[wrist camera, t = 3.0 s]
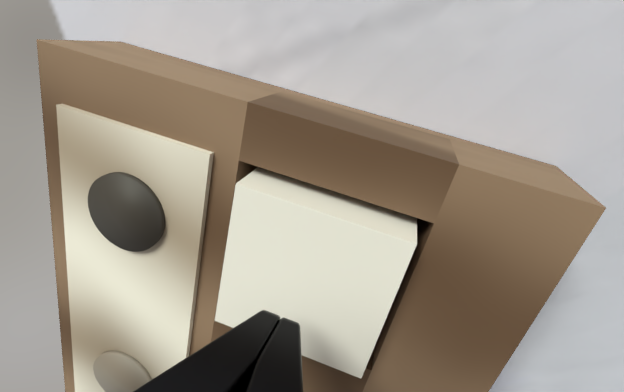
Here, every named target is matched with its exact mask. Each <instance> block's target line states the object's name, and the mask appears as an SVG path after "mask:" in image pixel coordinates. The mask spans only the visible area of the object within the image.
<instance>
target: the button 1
mask: <svg viewBox="0 0 624 392" xmlns="http://www.w3.org/2000/svg"><path fill="white" fill-rule="evenodd" d="M416 246H417V218H415V217H412V216H409V215H406V214H403V213H400V212H397V211H394V210H391V209H388V208H384V207H381V206H378V205H375V204H372V203H369V202H366V201H363V200H360V199H357V198H353V197H350V196H347V195H344V194H341V193H338V192H335V191H332V190H329V189H326V188H322V187H319V186H316V185H313V184H310V183H307V182H304V181H301V180H298V179H295V178H291V177H288V176H285V175H282V174H279V173H276V172H273V171H270V170H267V169H264V168H261V167H258V168H256V169H255V170H254V171H252V172H251V173H250V174H248V175H247V176H245V177H244V178H243V179H241V180H240V181H239V182H237V183H236V185H235V192H234V198H233V205H232V211H231V217H230V224H229V230H228V237H227V243H226V250H225V256H224V263H223V269H222V276H221V282H220V289H219V295H218V302H217V308H216V315H215V321H217V322H219V323H222V324H224V325H227V326H230V327H232V328H234V327H236V326H237V325H239V324H241V323H242V322H244V321H245V320H247V319H249V318H250V317H252V316H253V315H255V314H256V313H258V312H260V311H262V310H266V311H269V312H272V313H274V314H277V315H279V316H280V319H281V318H283V317H284V318H287V319H290V320H292V321H295V322H298V323H299V324H300V332H301V353H302V355H303V356H305V357H308V358H310V359H313V360H315V361H318V362H320V363H323V364H325V365H328V366H330V367H333V368H335V369H338V370H340V371H343V372H345V373H348V374H350V375H353V376H355V377H358V378H362V376H363V373H364V371H365V369H366V366H367V364H368V361H369V359H370V356H371V354H372V352H373V349H374V347H375V344H376V342H377V340H378V337H379V335H380V332H381V330H382V328H383V325H384V323H385V320H386V318H387V315H388V313H389V311H390V308H391V306H392V303H393V301H394V299H395V296H396V294H397V291H398V289H399V287H400V284H401V282H402V279H403V277H404V274H405V272H406V270H407V267H408V265H409V262H410V260H411V258H412V255H413V253H414V250H415V248H416Z"/></svg>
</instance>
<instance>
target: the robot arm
mask: <svg viewBox="0 0 624 392" xmlns="http://www.w3.org/2000/svg"><path fill="white" fill-rule="evenodd" d="M133 392H303V375H302V353H301V332H300V324H299V323H298V322H295V321H292V320H290V319H287V318H284V317H283V318H281V319H280V316H279V315H277V314H274V313H272V312H269V311H266V310H262V311H260V312H258V313H256V314H255V315H253V316H252V317H250V318H249V319H247V320H245V321H244V322H242V323H241V324H239V325H237V326H236V327H234V328H233V329H231V330H230V331H228V332H226V333H225V334H223V335H222V336H220V337H218V338H217V339H215V340H214V341H212V342H210V343H209V344H207V345H206V346H204V347H203V348H201V349H199V350H198V351H196V352H195V353H193V354H191V355H190V356H188V357H187V358H185V359H184V360H182V361H180V362H179V363H177V364H176V365H174V366H172V367H171V368H169V369H168V370H166V371H165V372H163V373H161V374H160V375H158V376H157V377H155V378H153V379H152V380H150V381H149V382H147V383H146V384H144V385H142V386H141V387H139V388H138V389H136V390H134V391H133Z"/></svg>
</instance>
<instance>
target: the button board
mask: <svg viewBox="0 0 624 392" xmlns="http://www.w3.org/2000/svg"><path fill="white" fill-rule="evenodd" d="M37 49H38V61H39V73H40V85H41V98H42V109H43V122H44V134H45V146H46V159H47V172H48V184H49V196H50V207H51V220H52V231H53V244H54V258H55V270H56V281H57V294H58V306H59V319H60V331H61V343H62V355H63V368H64V380H65V392H133V391H134V390H136V389H138V388H139V387H141V386H142V385H144V384H146V383H147V382H149V381H150V380H152V379H153V378H155V377H157V376H158V375H160V374H161V373H163V372H165V371H166V370H168V369H169V368H171V367H172V366H174V365H176V364H177V363H179V362H180V361H182V360H184V359H185V358H187V357H188V356H190V355H191V354H193V353H195V352H196V351H198V350H199V349H201V348H203V347H204V346H206V345H207V344H209V343H210V342H212V341H214V340H215V339H217V338H218V337H220V336H222V335H223V334H225V333H226V332H228V331H230V330H231V329H233V328H232V327H230V326H227V325H224V324H222V323H219V322H217V321H215V315H216V308H217V302H218V295H219V289H220V282H221V276H222V269H223V263H224V256H225V250H226V243H227V237H228V230H229V224H230V217H231V211H232V205H233V198H234V192H235V185H236V183H237V182H239V181H240V180H241V179H243V178H244V177H245V176H247V175H248V174H250V173H251V172H252V171H254V170H255V169H256V168H258V167H261V168H264V169H267V170H270V171H273V172H276V173H279V174H282V175H285V176H288V177H291V178H295V179H298V180H301V181H304V182H307V183H310V184H313V185H316V186H319V187H322V188H326V189H329V190H332V191H335V192H338V193H341V194H344V195H347V196H350V197H353V198H357V199H360V200H363V201H366V202H369V203H372V204H375V205H378V206H381V207H384V208H388V209H391V210H394V211H397V212H400V213H403V214H406V215H409V216H412V217H415V218H417V246H416V248H415V250H414V253H413V255H412V258H411V260H410V262H409V265H408V267H407V270H406V272H405V274H404V277H403V279H402V282H401V284H400V287H399V289H398V291H397V294H396V296H395V299H394V301H393V303H392V306H391V308H390V311H389V313H388V315H387V318H386V320H385V323H384V325H383V328H382V330H381V332H380V335H379V337H378V340H377V342H376V344H375V347H374V349H373V352H372V354H371V356H370V359H369V361H368V364H367V366H366V369H365V371H364V373H363V376H362V378H358V377H355V376H353V375H350V374H348V373H345V372H343V371H340V370H338V369H335V368H333V367H330V366H328V365H325V364H323V363H320V362H318V361H315V360H313V359H310V358H308V357H305V356H303V355H302V375H303V392H488V391H489V390H490V388H491V387H492V385H493V384H494V382H495V380H496V379H497V377H498V376H499V374H500V373H501V371H502V369H503V368H504V366H505V365H506V363H507V362H508V360H509V359H510V357H511V355H512V354H513V352H514V351H515V349H516V348H517V346H518V345H519V343H520V341H521V340H522V338H523V337H524V335H525V334H526V332H527V330H528V329H529V327H530V326H531V324H532V323H533V321H534V320H535V318H536V316H537V315H538V313H539V312H540V310H541V309H542V307H543V306H544V304H545V302H546V301H547V299H548V298H549V296H550V295H551V293H552V291H553V290H554V288H555V287H556V285H557V284H558V282H559V281H560V279H561V277H562V276H563V274H564V273H565V271H566V270H567V268H568V266H569V265H570V263H571V262H572V260H573V259H574V257H575V256H576V254H577V252H578V251H579V249H580V248H581V246H582V245H583V243H584V242H585V240H586V238H587V237H588V235H589V234H590V232H591V231H592V229H593V227H594V226H595V224H596V223H597V221H598V220H599V218H600V217H601V215H602V213H603V212H604V210H605V209H606V207H604V206H603V205H602V204H601V203H600V202H598V201H597V200H596V199H595V198H594V197H592V196H591V195H590V194H589V193H588V192H586V191H585V190H584V189H583V188H582V187H580V186H579V185H578V184H577V183H576V182H574V181H573V180H572V179H571V178H570V177H568V176H567V175H566V174H565V173H564V172H562V171H561V170H560V169H559V168H558V167H556V166H554V165H550V164H547V163H543V162H540V161H536V160H533V159H529V158H526V157H522V156H519V155H515V154H512V153H508V152H505V151H501V150H498V149H494V148H491V147H487V146H484V145H480V144H477V143H473V142H470V141H466V140H463V139H459V138H456V137H452V136H449V135H445V134H442V133H438V132H435V131H431V130H428V129H424V128H421V127H417V126H414V125H410V124H407V123H403V122H400V121H396V120H393V119H389V118H386V117H382V116H379V115H375V114H372V113H368V112H365V111H361V110H358V109H354V108H351V107H347V106H344V105H340V104H337V103H333V102H330V101H326V100H323V99H319V98H316V97H312V96H309V95H305V94H302V93H298V92H295V91H291V90H288V89H284V88H281V87H277V86H274V85H270V84H267V83H263V82H260V81H256V80H252V79H249V78H245V77H242V76H238V75H235V74H231V73H228V72H224V71H221V70H217V69H214V68H210V67H207V66H203V65H200V64H196V63H193V62H189V61H186V60H182V59H179V58H175V57H172V56H168V55H165V54H161V53H158V52H154V51H151V50H147V49H144V48H140V47H137V46H133V45H130V44H126V43H123V42H110V41H74V40H38V39H37Z"/></svg>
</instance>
